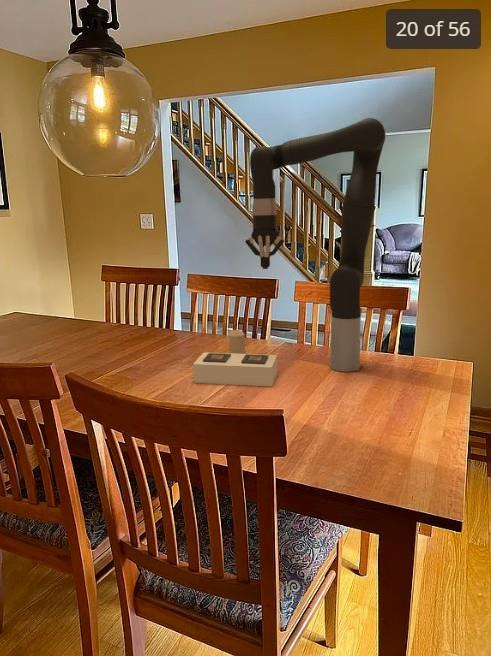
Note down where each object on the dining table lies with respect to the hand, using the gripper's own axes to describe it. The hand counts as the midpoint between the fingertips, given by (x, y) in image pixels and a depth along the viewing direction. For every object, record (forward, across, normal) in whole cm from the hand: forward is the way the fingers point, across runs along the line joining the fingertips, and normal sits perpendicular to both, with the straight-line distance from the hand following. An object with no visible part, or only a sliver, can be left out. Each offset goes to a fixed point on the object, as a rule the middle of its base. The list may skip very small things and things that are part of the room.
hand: (265, 268), depth 160 cm
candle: (+32, +11, -4) cm, 34 cm away
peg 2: (+32, +1, +16) cm, 36 cm away
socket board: (+32, +7, +16) cm, 36 cm away
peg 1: (+32, +13, +16) cm, 38 cm away
